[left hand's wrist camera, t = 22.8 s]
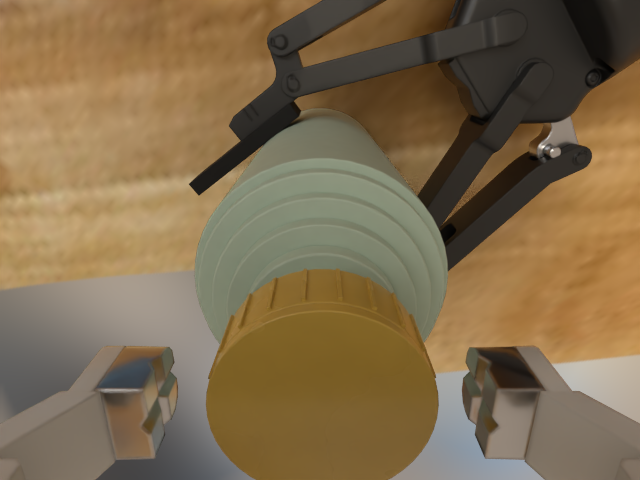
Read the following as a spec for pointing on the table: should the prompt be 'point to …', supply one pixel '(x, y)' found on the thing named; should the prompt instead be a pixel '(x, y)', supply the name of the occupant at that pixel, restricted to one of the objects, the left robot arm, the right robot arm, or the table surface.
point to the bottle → (321, 222)
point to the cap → (322, 381)
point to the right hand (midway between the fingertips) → (252, 242)
